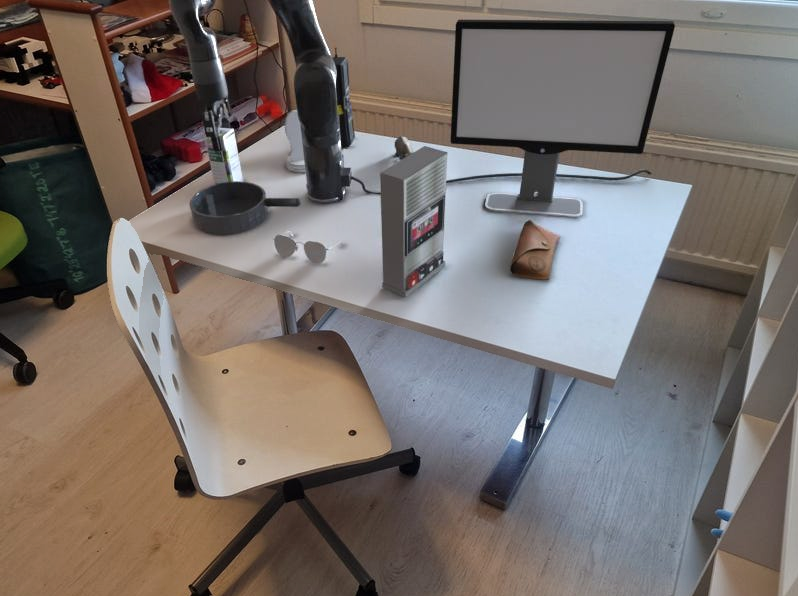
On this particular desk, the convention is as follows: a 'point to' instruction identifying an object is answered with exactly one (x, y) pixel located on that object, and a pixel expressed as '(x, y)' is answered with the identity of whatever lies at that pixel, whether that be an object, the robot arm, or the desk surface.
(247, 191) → the pan
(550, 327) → the desk surface
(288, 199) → the pan handle
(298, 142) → the chess piece
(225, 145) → the syrup box
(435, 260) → the cassette tape recorder
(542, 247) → the sunglasses case
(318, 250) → the sunglasses
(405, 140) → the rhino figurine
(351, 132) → the portable radio
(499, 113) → the computer monitor
